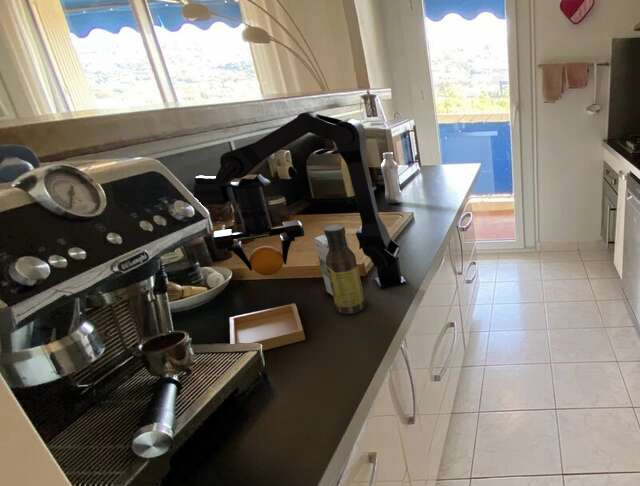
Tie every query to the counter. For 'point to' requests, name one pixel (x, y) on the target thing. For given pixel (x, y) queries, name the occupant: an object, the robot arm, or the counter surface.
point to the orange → (266, 260)
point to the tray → (268, 327)
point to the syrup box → (324, 259)
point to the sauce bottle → (343, 272)
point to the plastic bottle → (391, 179)
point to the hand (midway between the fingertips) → (268, 266)
